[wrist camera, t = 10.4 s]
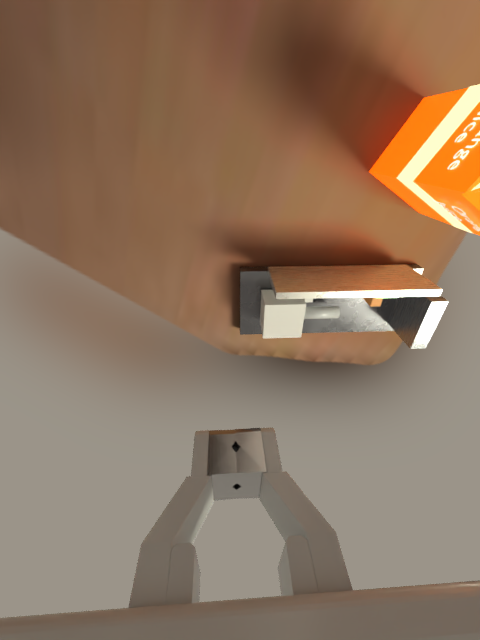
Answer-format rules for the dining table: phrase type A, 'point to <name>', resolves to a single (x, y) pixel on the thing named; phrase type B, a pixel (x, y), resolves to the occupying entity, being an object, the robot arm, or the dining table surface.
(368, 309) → the bench
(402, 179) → the orange juice
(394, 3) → the dining table surface
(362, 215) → the dining table surface
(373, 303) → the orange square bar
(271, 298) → the white block
